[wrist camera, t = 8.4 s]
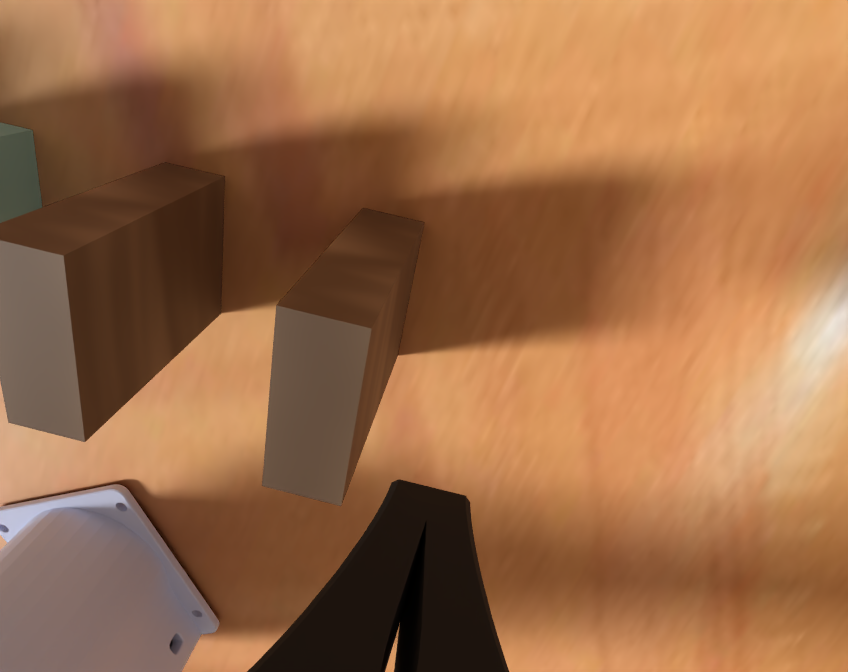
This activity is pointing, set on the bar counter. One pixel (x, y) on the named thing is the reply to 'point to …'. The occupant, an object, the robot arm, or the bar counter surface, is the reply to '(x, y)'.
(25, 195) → the domino
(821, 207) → the bar counter surface
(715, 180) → the bar counter surface
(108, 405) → the domino
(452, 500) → the robot arm
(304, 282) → the domino
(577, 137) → the bar counter surface
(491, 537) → the bar counter surface
